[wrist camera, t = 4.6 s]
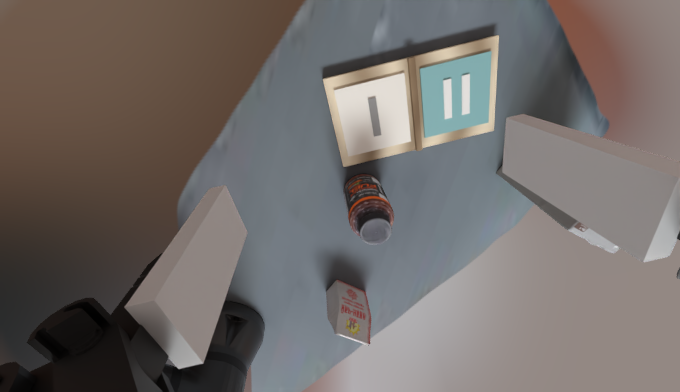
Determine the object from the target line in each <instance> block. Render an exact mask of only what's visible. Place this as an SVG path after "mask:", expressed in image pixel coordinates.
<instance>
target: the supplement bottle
mask: <svg viewBox="0 0 680 392" xmlns="http://www.w3.org/2000/svg"><path fill="white" fill-rule="evenodd" d="M344 198H345V203H346V208H347V213H348V218H349V223H350V226H351V228H352V230H353V231H354V232H355V233H356V234H357V235H359V236H360V237H361V239H362V240H363V241H364V242H366V243H367V244H370V245H378V244H381V243H383V242H385V241H386V240H388V238H389V237H390V236H391V233H392V227H391V226H392V224H393V221H394V213H393V210H392V207H391V205H390V203H389V201H388V199H387V197H386V195H385V193H384V190H383V188H382V186H381V184H380V183H379V181H378V180H377V179H376V178H375V177H373V176H371V175H368V174H360V175H356V176H354V177H352V178H351V179H350V180H349V181H348V182H347V184H346V185H345V188H344Z"/></svg>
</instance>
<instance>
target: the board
mask: <svg viewBox="0 0 680 392" xmlns="http://www.w3.org/2000/svg"><path fill="white" fill-rule="evenodd" d="M498 42H499V35H497V36H490V37H486V38H482V39H478V40H474V41H470V42H466V43H462V44H458V45H454V46H450V47H446V48H442V49H438V50H434V51H430V52H426V53H422V54H419V55H415V56H411V57H407V58H403V59H399V60H395V61H391V62H387V63H383V64H379V65H375V66H371V67H367V68H363V69H359V70H355V71H351V72H347V73H343V74H339V75H335V76H331V77H327V78H323V82H324V86H325V91H326V95H327V99H328V103H329V108H330V112H331V116H332V121H333V125H334V129H335V133H336V138H337V142H338V146H339V151H340V155H341V159H342V163H343V167H346V166H350V165H355V164H359V163H363V162H367V161H371V160H375V159H379V158H383V157H387V156H392V155H396V154H400V153H404V152H408V151H412V150H416V151H419V150H422V148H424V147H429V146H433V145H437V144H441V143H445V142H449V141H453V140H457V139H461V138H466V137H470V136H474V135H478V134H482V133H486V132H490V131H494V119H495V99H496V80H497V61H498ZM488 51H492V53H491V77H490V100H489V123H484V124H480V125H476V126H472V127H468V128H464V129H460V130H456V131H452V132H448V133H443V134H439V135H435V136H431V137H427V138H424V126H423V113H422V99H421V86H420V72H419V69H420V68H424V67H428V66H432V65H436V64H440V63H444V62H448V61H452V60H456V59H460V58H464V57H468V56H472V55H476V54H480V53H484V52H488ZM400 73H404V75H405V85H406V95H407V105H408V115H409V125H410V136H411V142H407V143H402V144H398V145H394V146H390V147H386V148H382V149H378V150H374V151H370V152H366V153H362V154H357V155H353V156H349V157H348V153H347V148H346V144H345V139H344V135H343V130H342V126H341V121H340V117H339V112H338V107H337V103H336V98H335V94H334V90H336V89H340V88H344V87H348V86H352V85H356V84H360V83H364V82H368V81H372V80H376V79H380V78H384V77H388V76H392V75H396V74H400Z"/></svg>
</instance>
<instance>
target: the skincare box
mask: <svg viewBox="0 0 680 392" xmlns="http://www.w3.org/2000/svg"><path fill="white" fill-rule="evenodd" d="M502 167H503V165H502V166H501V168H500V169H499V170H498V171H497V173H496V174H497V175H499V176H500V177H502V178H503V179H504V180H505V181H507V182H508V183H509V184H510V185H512V186H513V187H514V188H515V189H517V190H518V191H519V192H520V193H522V194H523V195H524V196H525V197H527V198H528V199H529V200H530V201H532V202H533V203H534V204H536V205H537V206H538V207H539V208H540V209H541V210H543V211H544V212H545V213H547V214H548V215H549V216H550V217H552V218H553V219H554V220H555V221H557V222H558V223H559V224H560V225H562V226H563V227H564V228H565V229H567V230H568V231H570V232H572V233H574V234H576V235H578V236H580V237H582V238H584V239H586V240H587V241H588V242H589V243H590V244H591V245H597V246H599V247H601V248H602V249H604V250H606V251H608V252H610V253H615V252H616V251H617V250H619V249H620V248H619V247H618V246H616V245H615V244H613V243H612V242H610V241H608V240H607V239H605V238H604V237H602V236H601V235H599V234H598V233H596V232H594V231H593V230H591V229H590V228H588V227H587V226H585V225H583V224H582V223H580V222H579V221H577V220H576V219H574V218H573V217H571V216H569V215H568V214H566V213H565V212H563V211H562V210H560V209H558V208H557V207H555V206H554V205H552V204H551V203H549V202H548V201H546V200H544V199H543V198H541V197H540V196H538V195H537V194H535V193H533V192H532V191H530V190H529V189H527V188H526V187H524V186H523V185H521V184H519V183H518V182H516V181H515V180H513V179H512V178H510V177H508V176H507V175H505V174H504V173H502Z"/></svg>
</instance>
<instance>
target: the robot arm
mask: <svg viewBox="0 0 680 392" xmlns="http://www.w3.org/2000/svg"><path fill="white" fill-rule="evenodd" d="M502 173H504V174H505V175H507V176H508V177H510V178H512V179H513V180H515V181H516V182H518V183H519V184H521V185H523V186H524V187H526V188H527V189H529V190H530V191H532V192H533V193H535V194H537V195H538V196H540V197H541V198H543V199H544V200H546V201H548V202H549V203H551V204H552V205H554V206H555V207H557V208H558V209H560V210H562V211H563V212H565V213H566V214H568V215H569V216H571V217H573V218H574V219H576V220H577V221H579V222H580V223H582V224H583V225H585V226H587V227H588V228H590V229H591V230H593V231H594V232H596V233H598V234H599V235H601V236H602V237H604V238H605V239H607V240H608V241H610V242H612V243H613V244H615V245H616V246H618V247H619V248H621V249H623V250H624V251H626V252H627V253H629V254H630V255H632V256H634V257H635V258H637V259H638V260H640V261H641V262H647V261H652V260H656V259H661V258H664V257H669V256H670V254H671V251H672V250H673V247H674V245H675V243H676V241H677V239H679V240H680V161H677V160H673V159H670V158H667V157H664V156H660V155H657V154H654V153H650V152H647V151H644V150H641V149H637V148H634V147H630V146H627V145H624V144H620V143H617V142H614V141H611V140H608V139H604V138H601V137H598V136H594V135H591V134H588V133H584V132H581V131H578V130H575V129H571V128H568V127H565V126H561V125H558V124H555V123H551V122H548V121H545V120H542V119H538V118H535V117H532V116H528V115H525V114H520V115H516V116H512V117H508V118H506V129H505V142H504V154H503V167H502ZM246 235H247V230H246V228H245V226H244V224H243V222H242V220H241V217H240V215H239V213H238V211H237V209H236V207H235V204H234V202H233V200H232V198H231V196H230V194H229V192H228V189H227V187H226V185H223V186H219V187H214V188H210V189H209V190H208V191H207V193H206V194H205V195H204V197H203V198H202V200H201V201H200V202H199V204H198V205H197V207H196V208H195V209H194V211H193V212H192V213H191V215H190V216H189V218H188V219H187V220H186V222H185V223H184V225H183V226H182V227H181V229H180V230H179V232H178V233H177V235H176V236H175V237H174V239H173V240H172V242H171V243H170V244H169V246H168V247H167V248H166V250H165V251H164V253H162V254H160V255H159V256H158V257H157V258H155V259H154V260H153V261H152V262H151V263H150V264H148V266H147V267H146V269H145V270H144V271H143V272H142V274H141V275H140V278H138V279H137V281H136V282H135V283H134V285H133V287H132V288H131V289H130V290H129V291H128V293H127V294H126V295H125V297H124V298H123V299H122V301H121V302H120V303H119V305H118V306H117V307H116V309H115V310H114V311H113V313H112V314H111V315H110V314H109V313H108V312H107V311H106V310H105V309H104V308H103V307H102V306H101V305H100V304H99V303H98V302H97V301H96V300H95V299H94V298H84V299H81V300H77V301H75V302H73V303H71V304H69V305H67V306H64V307H63V308H61V309H60V310H58V311H57V312H55V313H53V314H52V315H50V316H49V317H48V318H47V319H45V320H44V321H43V322H42V323H41V324H40V325H39V326H38V327H37V328H36V329H35V330H34V331H33V332H32V334H31V335H30V337H29V339H28V341H27V343H28V344H29V345H31V346H32V347H33V348H34V349H36V350H37V351H38V352H39V353H40V354H42V355H43V356H44V357H45V358H47V359H48V360H49V361H51V362H50V363H48V364H45V365H43V366H41V367H39V368H37V369H34V370H32V371H30V372H29V371H27V370H26V369H25V368H23V367H22V366H21V365H19V364H18V363H17V362H10V363H5V364H3V365H0V392H244V387H245V381H246V376H247V371H248V369H249V367H250V365H251V363H252V361H253V359H254V357H255V355H256V353H257V351H258V349H259V348H260V346H261V344H262V341H263V336H264V330H265V327H264V323H263V320H262V319H261V317H260V316H259V315H258V314H257V313H256V312H255V311H254V310H252V309H250V308H249V307H246V306H244V305H241V304H238V303H234V302H225V298H226V295H227V292H228V289H229V286H230V283H231V280H232V277H233V274H234V271H235V268H236V265H237V262H238V259H239V256H240V253H241V250H242V247H243V244H244V241H245V238H246ZM677 278H679V279H680V269H679V270H678V272H677ZM168 358H169V359H170V360H171V361H172V362H173V363H174V365H175V366H176V367H174V366H171V365H169V364H166V361H167V359H168Z"/></svg>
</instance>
